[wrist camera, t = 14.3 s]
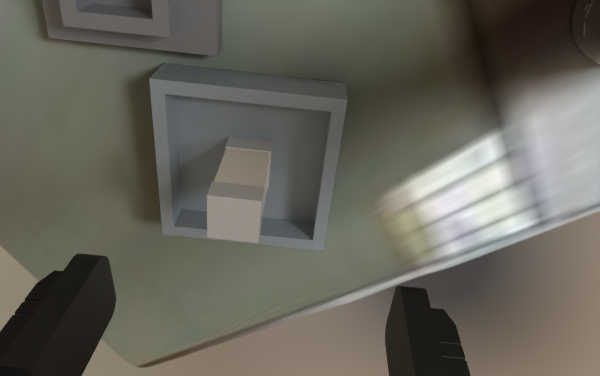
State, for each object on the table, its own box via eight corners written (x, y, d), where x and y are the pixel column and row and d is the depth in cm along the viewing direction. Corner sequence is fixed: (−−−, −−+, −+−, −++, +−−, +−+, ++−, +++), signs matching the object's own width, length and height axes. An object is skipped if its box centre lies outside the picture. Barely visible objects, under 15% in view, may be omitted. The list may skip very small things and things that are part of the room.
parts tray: (345, 82, 41) (347, 99, 38) (323, 226, 50) (323, 250, 47) (163, 63, 41) (149, 78, 37) (173, 211, 50) (162, 234, 46)
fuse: (273, 141, 44) (261, 201, 35) (270, 178, 46) (258, 243, 37) (229, 136, 43) (206, 195, 35) (228, 174, 46) (207, 237, 37)
